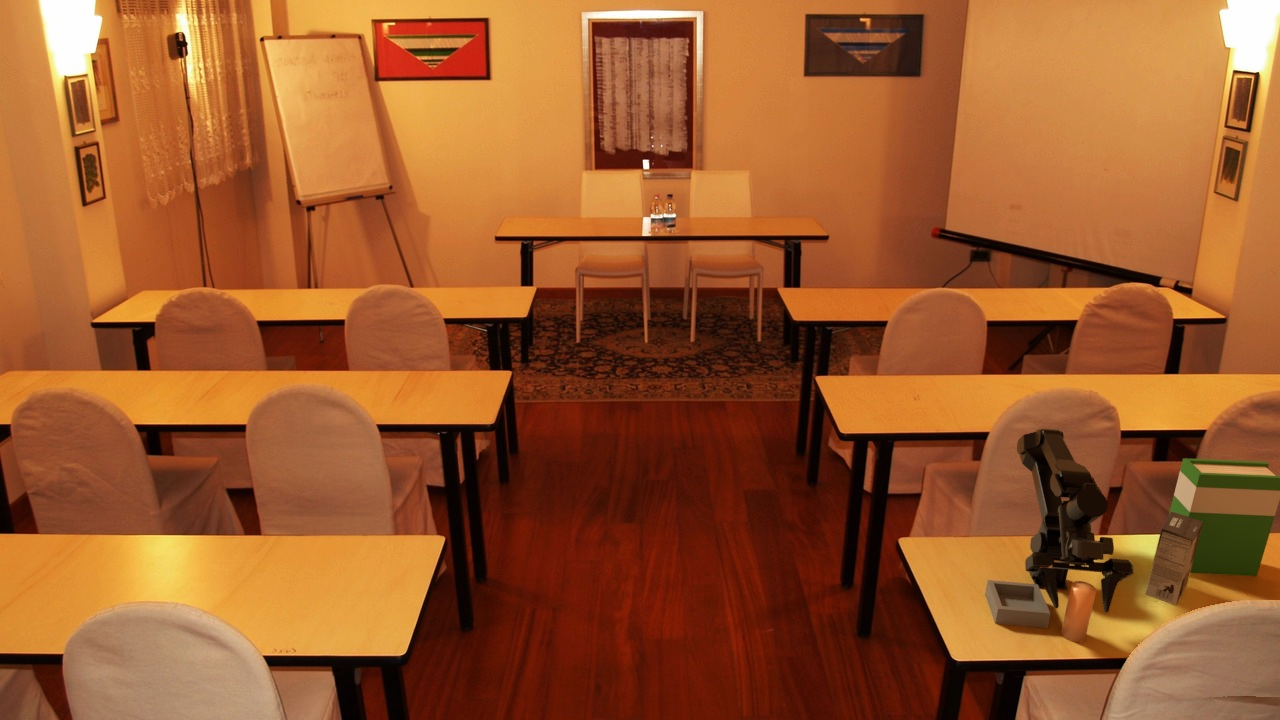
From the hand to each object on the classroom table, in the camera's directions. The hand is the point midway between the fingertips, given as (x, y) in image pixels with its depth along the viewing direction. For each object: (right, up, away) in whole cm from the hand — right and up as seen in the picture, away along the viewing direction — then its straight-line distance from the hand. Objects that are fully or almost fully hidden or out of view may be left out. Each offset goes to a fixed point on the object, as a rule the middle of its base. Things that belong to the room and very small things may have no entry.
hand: (1081, 610), depth 189 cm
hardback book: (+41, +3, +28) cm, 50 cm away
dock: (-9, -3, +11) cm, 14 cm away
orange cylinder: (0, -6, +4) cm, 7 cm away
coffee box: (+26, -1, +19) cm, 32 cm away
